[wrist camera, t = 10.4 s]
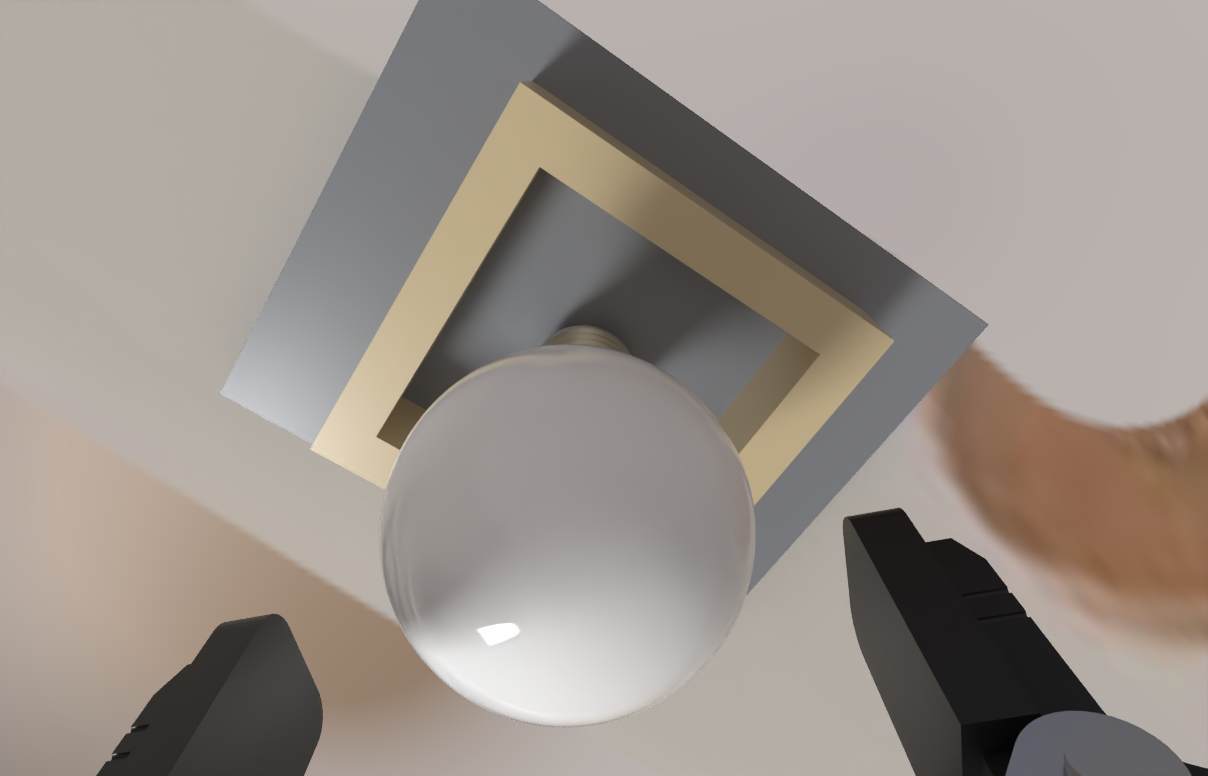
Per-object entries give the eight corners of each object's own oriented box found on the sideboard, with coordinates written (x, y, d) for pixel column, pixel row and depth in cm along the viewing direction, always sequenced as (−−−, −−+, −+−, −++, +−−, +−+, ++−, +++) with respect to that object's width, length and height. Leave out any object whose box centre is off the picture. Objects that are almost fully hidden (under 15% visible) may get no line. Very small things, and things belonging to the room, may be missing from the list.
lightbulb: (659, 493, 22) (699, 858, 12) (443, 435, 21) (291, 769, 11) (738, 288, 20) (871, 525, 10) (497, 215, 19) (366, 388, 9)
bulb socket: (243, 373, 22) (171, 433, 19) (462, -53, 18) (424, -84, 14) (690, 621, 26) (703, 714, 22) (964, 308, 21) (1037, 357, 18)
